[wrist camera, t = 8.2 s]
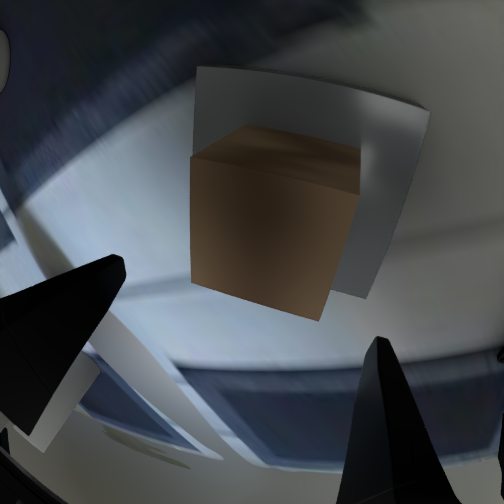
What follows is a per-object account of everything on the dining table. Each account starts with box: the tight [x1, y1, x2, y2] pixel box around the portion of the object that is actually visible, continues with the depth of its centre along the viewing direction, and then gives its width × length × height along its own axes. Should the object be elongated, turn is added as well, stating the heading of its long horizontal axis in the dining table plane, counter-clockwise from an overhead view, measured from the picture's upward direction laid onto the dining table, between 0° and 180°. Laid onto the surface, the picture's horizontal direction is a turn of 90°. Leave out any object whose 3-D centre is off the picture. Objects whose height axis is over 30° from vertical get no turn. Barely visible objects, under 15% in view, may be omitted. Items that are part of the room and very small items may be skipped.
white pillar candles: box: [13, 351, 101, 453], centre depth 43 cm, size 11×7×20 cm, turn 115°
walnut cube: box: [190, 124, 361, 321], centre depth 14 cm, size 6×6×6 cm
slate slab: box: [193, 65, 431, 299], centre depth 18 cm, size 12×12×3 cm
